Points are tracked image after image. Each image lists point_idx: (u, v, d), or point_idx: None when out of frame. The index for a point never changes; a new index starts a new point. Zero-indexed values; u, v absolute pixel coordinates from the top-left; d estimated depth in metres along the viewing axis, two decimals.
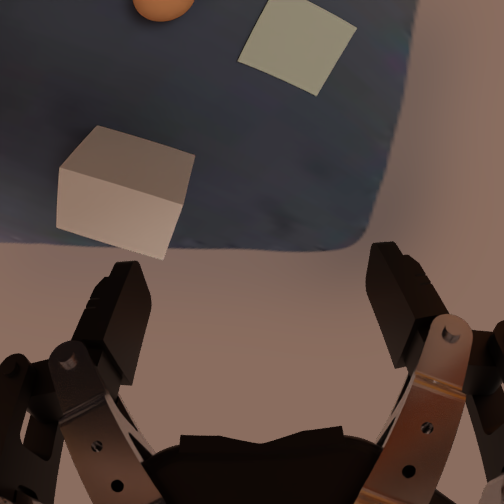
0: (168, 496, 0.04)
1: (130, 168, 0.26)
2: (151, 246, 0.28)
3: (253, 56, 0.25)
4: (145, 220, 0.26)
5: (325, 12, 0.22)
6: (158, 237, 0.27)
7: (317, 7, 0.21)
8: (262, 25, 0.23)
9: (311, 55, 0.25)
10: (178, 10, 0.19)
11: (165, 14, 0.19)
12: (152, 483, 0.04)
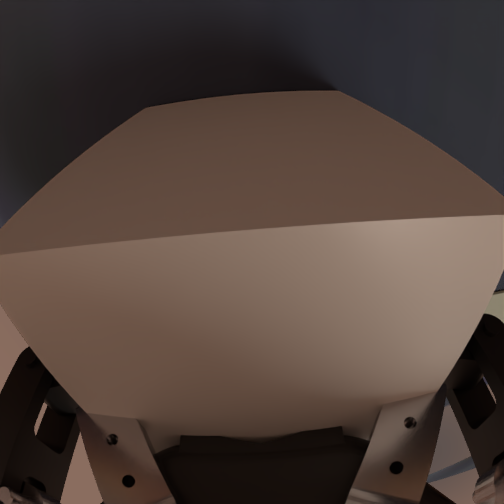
0: (179, 495, 0.04)
1: None
2: None
3: (490, 307, 0.16)
4: None
5: None
6: None
7: None
8: None
9: None
10: None
11: None
12: (165, 482, 0.04)
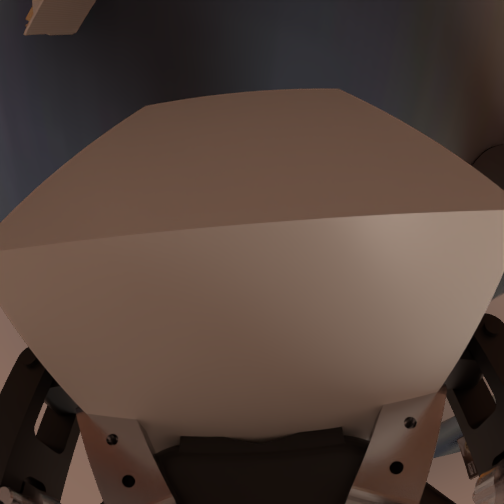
0: (179, 495, 0.04)
1: None
2: None
3: None
4: None
5: None
6: None
7: None
8: None
9: None
10: None
11: None
12: (164, 482, 0.04)
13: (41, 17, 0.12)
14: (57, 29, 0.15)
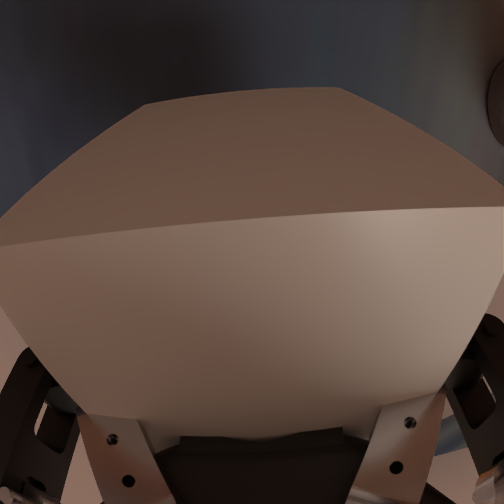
0: (179, 495, 0.04)
1: None
2: None
3: None
4: None
5: None
6: None
7: None
8: None
9: None
10: None
11: None
12: (164, 482, 0.04)
13: None
14: None
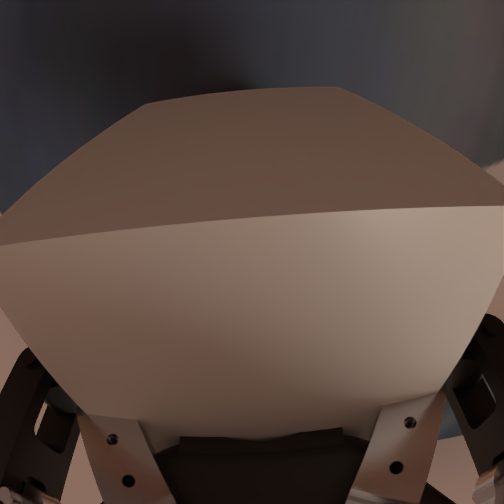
0: (179, 495, 0.04)
1: None
2: None
3: None
4: None
5: None
6: None
7: None
8: None
9: None
10: None
11: None
12: (164, 482, 0.04)
13: None
14: None
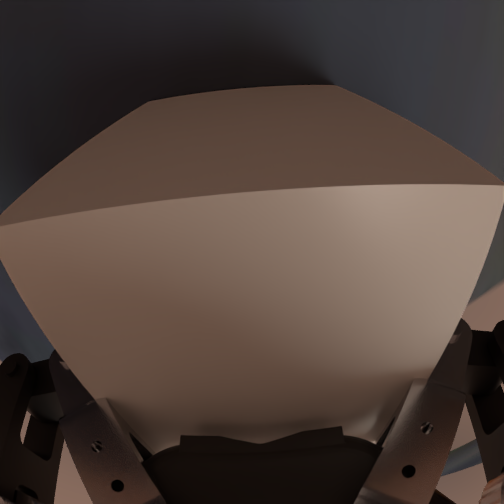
0: (168, 496, 0.04)
1: None
2: None
3: None
4: None
5: None
6: None
7: None
8: None
9: None
10: None
11: None
12: (152, 483, 0.04)
13: None
14: None
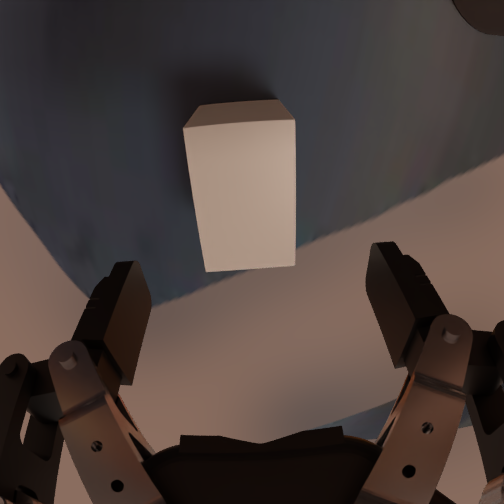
0: (168, 496, 0.04)
1: None
2: (220, 255, 0.24)
3: None
4: (257, 239, 0.23)
5: None
6: (238, 258, 0.24)
7: None
8: None
9: None
10: None
11: None
12: (152, 483, 0.04)
13: None
14: None
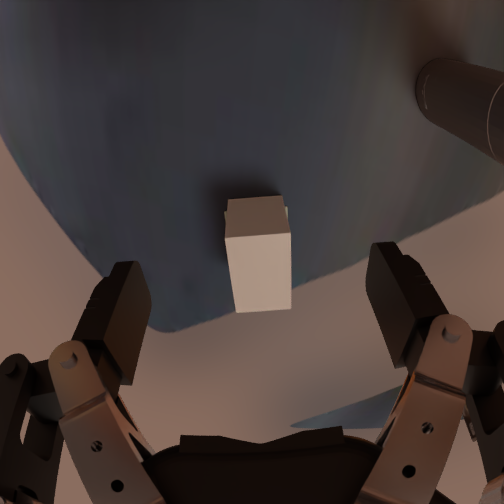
0: (168, 496, 0.04)
1: None
2: (245, 303, 0.39)
3: None
4: (268, 295, 0.38)
5: None
6: (256, 305, 0.39)
7: None
8: None
9: None
10: None
11: None
12: (152, 483, 0.04)
13: None
14: None
